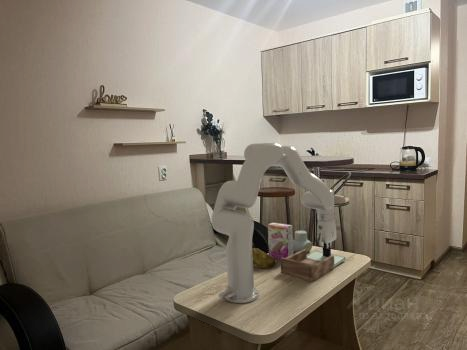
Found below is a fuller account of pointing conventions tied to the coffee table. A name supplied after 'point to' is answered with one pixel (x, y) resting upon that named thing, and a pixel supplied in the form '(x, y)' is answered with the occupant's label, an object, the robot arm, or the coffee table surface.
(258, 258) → the potato
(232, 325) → the coffee table surface
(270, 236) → the candy bar box
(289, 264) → the brown wooden tray
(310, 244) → the air freshener
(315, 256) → the panel
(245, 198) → the robot arm
